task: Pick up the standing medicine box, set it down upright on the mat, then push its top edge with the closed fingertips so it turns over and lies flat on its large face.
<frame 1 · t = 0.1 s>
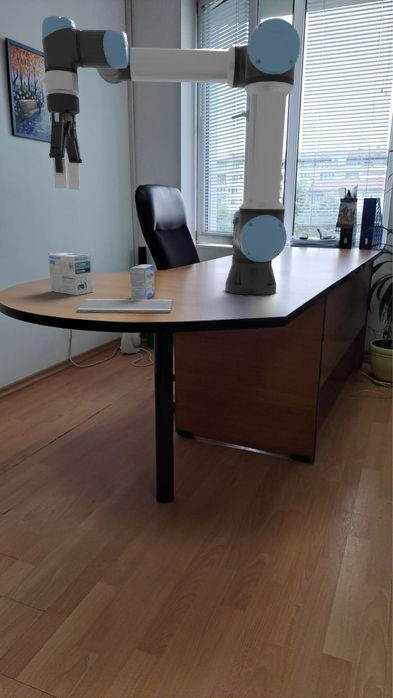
hand: (68, 188, 120), 28 cm above the table, fingers open, 13 cm apart
medicine box: (143, 298, 130), on the table
mat: (127, 307, 118), on the table
light bulb box: (72, 292, 137), on the table
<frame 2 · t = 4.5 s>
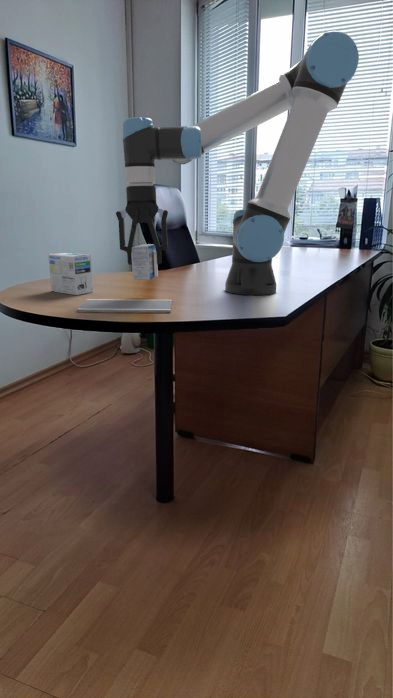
hand: (145, 276, 128), 6 cm above the table, fingers closed on medicine box, 5 cm apart
medicine box: (145, 278, 128), point 5 cm above the table, touching gripper
everything else where it was.
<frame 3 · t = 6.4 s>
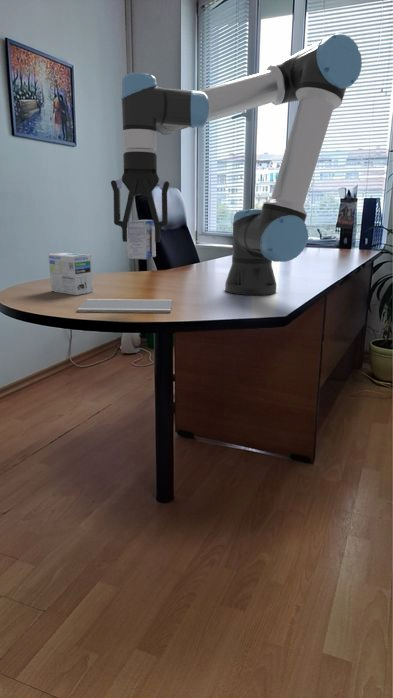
hand: (141, 255, 115), 13 cm above the table, fingers closed on medicine box, 5 cm apart
medicine box: (141, 258, 115), point 12 cm above the table, touching gripper
everything else where it was.
when the fingers open (1 cm above the table, at t = 8.6 s): medicine box stays where it is, resting on mat.
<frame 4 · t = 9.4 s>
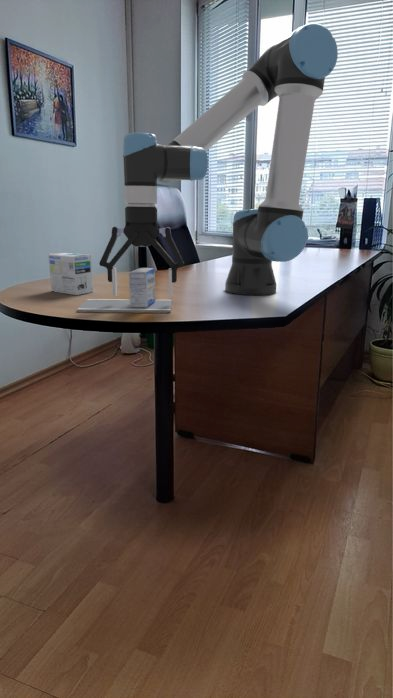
hand: (142, 295, 118), 3 cm above the table, fingers open, 13 cm apart
medicine box: (143, 305, 118), resting on mat
everything else where it was.
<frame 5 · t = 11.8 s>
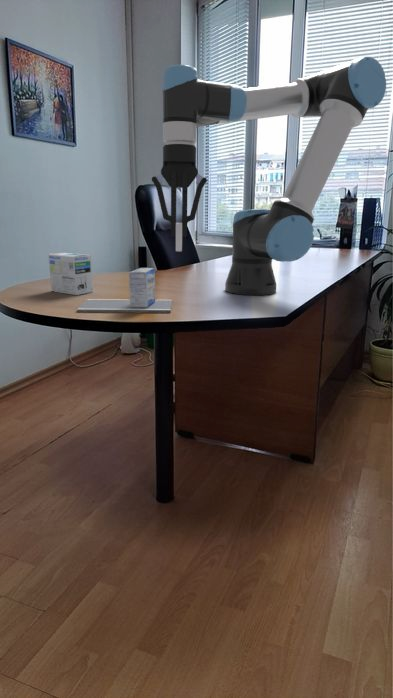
hand: (178, 250, 114), 14 cm above the table, fingers closed
nothing on the table moved.
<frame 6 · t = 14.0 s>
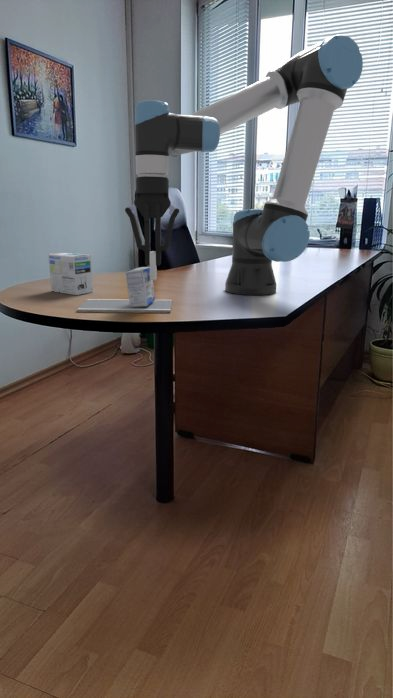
hand: (153, 278, 116), 7 cm above the table, fingers closed
medicine box: (143, 304, 118), point 1 cm above the table, touching gripper, mat
everything else where it was.
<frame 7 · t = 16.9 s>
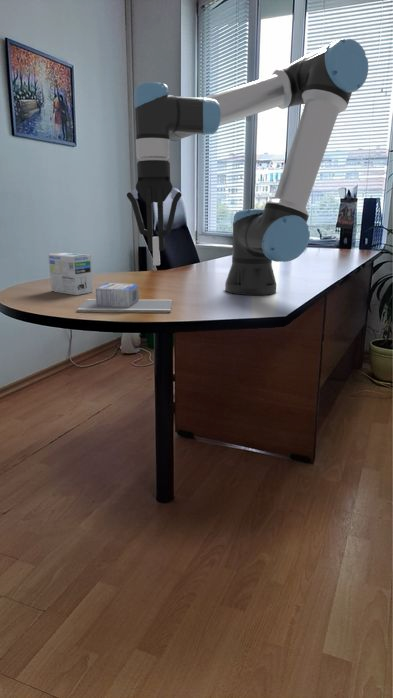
hand: (156, 264, 116), 11 cm above the table, fingers closed
medicine box: (135, 295, 118), point 3 cm above the table, touching mat
everything else where it was.
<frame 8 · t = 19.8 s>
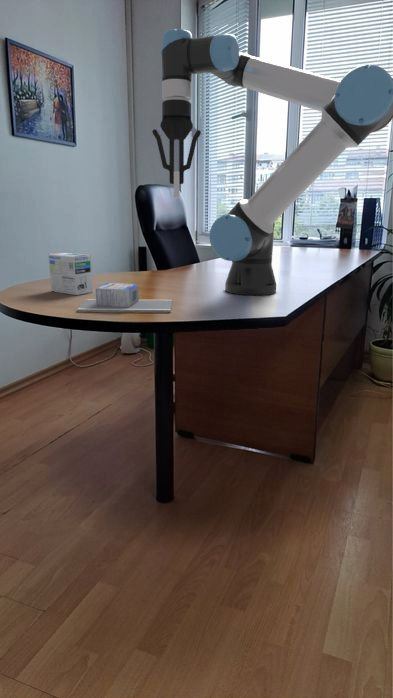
hand: (176, 196, 130), 26 cm above the table, fingers closed
nothing on the table moved.
at the end: medicine box tilted 89°; medicine box 2.1 cm from the mat (horizontally); the gripper is holding nothing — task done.
